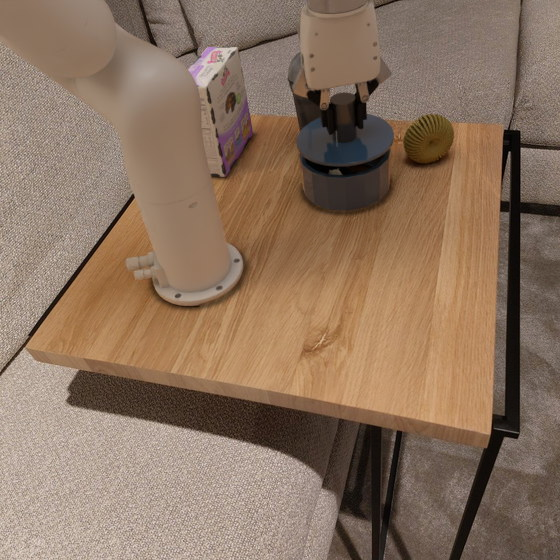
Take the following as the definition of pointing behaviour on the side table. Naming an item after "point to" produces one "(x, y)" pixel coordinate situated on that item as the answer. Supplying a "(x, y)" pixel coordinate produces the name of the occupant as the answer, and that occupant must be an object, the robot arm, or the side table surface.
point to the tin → (346, 184)
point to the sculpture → (428, 138)
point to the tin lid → (345, 136)
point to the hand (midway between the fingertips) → (344, 126)
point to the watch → (339, 170)
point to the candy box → (222, 107)
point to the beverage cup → (303, 105)
